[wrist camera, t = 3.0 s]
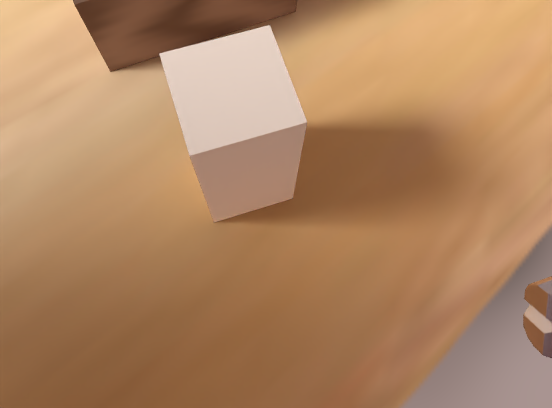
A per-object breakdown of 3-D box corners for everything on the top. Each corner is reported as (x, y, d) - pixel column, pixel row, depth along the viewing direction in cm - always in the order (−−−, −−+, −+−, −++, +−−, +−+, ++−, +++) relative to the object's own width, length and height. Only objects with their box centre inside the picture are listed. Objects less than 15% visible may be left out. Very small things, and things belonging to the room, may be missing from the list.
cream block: (213, 222, 26) (189, 155, 17) (192, 149, 27) (159, 53, 18) (292, 198, 26) (307, 122, 18) (267, 127, 28) (269, 25, 19)
